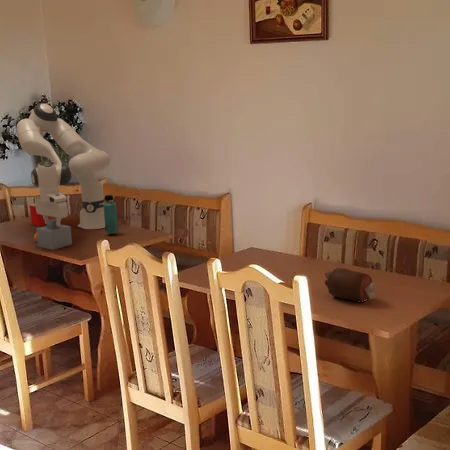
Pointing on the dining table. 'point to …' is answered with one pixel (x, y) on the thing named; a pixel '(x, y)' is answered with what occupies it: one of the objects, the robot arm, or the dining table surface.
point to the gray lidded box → (54, 235)
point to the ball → (36, 237)
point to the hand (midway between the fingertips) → (53, 225)
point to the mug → (36, 216)
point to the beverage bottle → (110, 215)
